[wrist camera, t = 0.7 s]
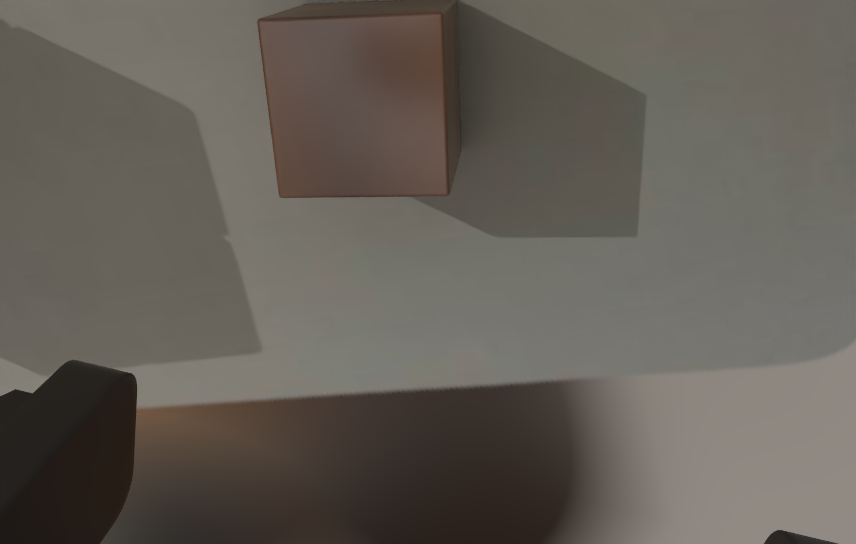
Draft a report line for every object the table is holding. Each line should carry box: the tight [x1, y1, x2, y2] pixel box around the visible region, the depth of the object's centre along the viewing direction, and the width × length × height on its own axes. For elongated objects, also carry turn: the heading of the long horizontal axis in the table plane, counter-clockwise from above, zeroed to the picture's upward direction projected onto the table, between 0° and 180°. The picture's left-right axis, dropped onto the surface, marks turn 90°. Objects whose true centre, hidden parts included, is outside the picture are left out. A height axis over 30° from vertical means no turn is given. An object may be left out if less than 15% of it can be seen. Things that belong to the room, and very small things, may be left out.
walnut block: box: [257, 0, 461, 198], centre depth 24 cm, size 5×5×5 cm
